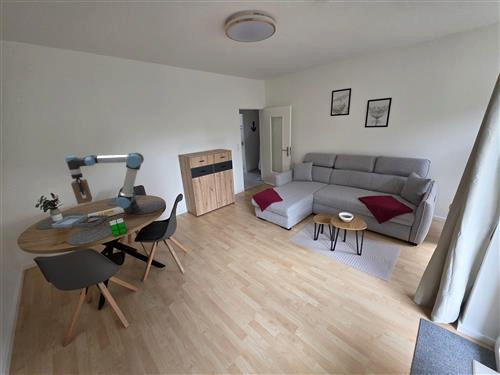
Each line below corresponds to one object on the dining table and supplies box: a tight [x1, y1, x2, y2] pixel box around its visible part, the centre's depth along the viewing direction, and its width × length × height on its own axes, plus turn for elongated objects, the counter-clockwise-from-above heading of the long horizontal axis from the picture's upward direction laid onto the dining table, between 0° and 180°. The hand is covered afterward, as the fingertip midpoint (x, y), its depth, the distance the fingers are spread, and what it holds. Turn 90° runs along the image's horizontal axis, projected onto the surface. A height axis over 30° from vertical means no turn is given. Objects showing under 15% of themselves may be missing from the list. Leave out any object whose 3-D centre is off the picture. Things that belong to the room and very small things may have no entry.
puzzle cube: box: [109, 218, 128, 237], centre depth 168 cm, size 10×10×10 cm
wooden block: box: [70, 178, 93, 205], centre depth 182 cm, size 10×10×20 cm
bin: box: [51, 215, 87, 229], centre depth 191 cm, size 18×18×4 cm
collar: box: [75, 214, 110, 227], centre depth 191 cm, size 18×18×2 cm
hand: (83, 196), depth 184 cm, fingers closed on wooden block, 11 cm apart
